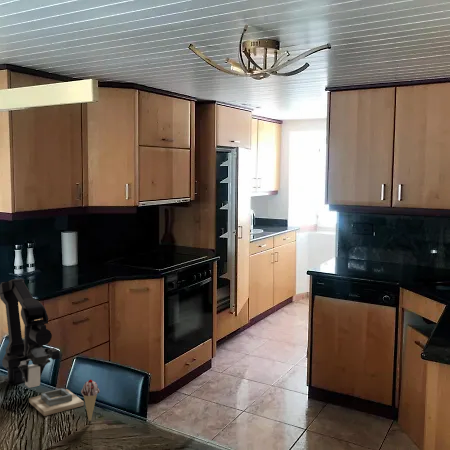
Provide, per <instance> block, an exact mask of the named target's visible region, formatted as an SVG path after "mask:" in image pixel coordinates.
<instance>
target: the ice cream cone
mask: <svg viewBox="0 0 450 450" xmlns="http://www.w3.org/2000/svg"><path fill="white" fill-rule="evenodd" d="M80 392H81V393H80V394H81V395H82V396H83V401H84V406H85V409H86V413H87V414H86V415H87V419H88V424H89V425H91V422H92V417H93V414H94V409H95V404H96V399H97V396H98V394H99V393H100V388H99V387H98V384H97V382H96V381H94V380H92V379H89V380H88V381H85V383H84V384H83V386H82V389H81V390H80Z"/></svg>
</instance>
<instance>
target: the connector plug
mask: <svg viewBox="0 0 450 450" xmlns="http://www.w3.org/2000/svg"><path fill="white" fill-rule="evenodd" d="M27 373H28V382H26V381H25V382H24V385H25V386H26V387H27V388H29V389H30V388H34V387H38V386H39V387H40V386H41V377H40V366H39V365H34V364H33V363H32V364H28V368H27Z"/></svg>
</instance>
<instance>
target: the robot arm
mask: <svg viewBox="0 0 450 450" xmlns="http://www.w3.org/2000/svg"><path fill="white" fill-rule="evenodd" d="M25 281H26V280H25V279H23V278H15V279H14V278H13V279H11V280H8V281H3V282H0V301H2V303H3V304H4V305H5V314H6V321H7V332H8V334H7V335H8V343H7V346H6V348H5V354H4V356H3V358H2V360H1V362H2V364H1V365H2V367H3V368H4V369H6V370H7V377H6V378H4V381H5V382H6V383H7V384H8V385H9V386H10V385H11V386H12V385H17V384H20V383H25V381H26V382H28V373H27V368H28V365H30V362H31V363H32V364H34V365H39V366H40V378H41V377H42V374H43V371H44V369H45V367H46V366H47V364H49V363H51V360H52V361H54V360H60V359H61V357H62V355H61V351H60V350H58V349H57V348H55V347H45V348H44V346H46V345H48V344H49V343H50V342H51V341H52V336H53V334H52V333H51V330H49V329H48V328H47V325H49V318H50V317H49V316H48V312H47V311H46V309H45V306H44V305H43V304H42V303H41V301H40V300H38V299H35V298H34V297H33V295H32V293H31V291H30V290H29V288H28V287H27V285H26V282H25ZM19 305H20V306H21V309H20V310H19ZM21 319H22V321H23V326H24V335H22V325H21ZM46 324H47V325H46ZM23 336H24V338H23ZM50 359H51V360H50Z"/></svg>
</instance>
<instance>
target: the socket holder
mask: <svg viewBox="0 0 450 450" xmlns="http://www.w3.org/2000/svg"><path fill="white" fill-rule="evenodd" d="M28 403H30V405H31V406H32V407H33V408H35V409H36V410H37V411H38V412H39V413H40V414H41V415H42V416H43V417H46V416H50V415H53V414H54V415H55V414H57V413H62V412H64V411H68V410H73V409H77V408H79V407H83V406H85V400H84V399H83V400H82V399H81V398H80V396H79V397H78V396H77V395H76V394H75V393H73V392H72V391H71V390H69V389H67V388H66V389H65V388H63V387H62V388H57V389H54V390H49V391H46V392H41V393H40V395H37V396H33V397H29V398H28Z"/></svg>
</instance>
